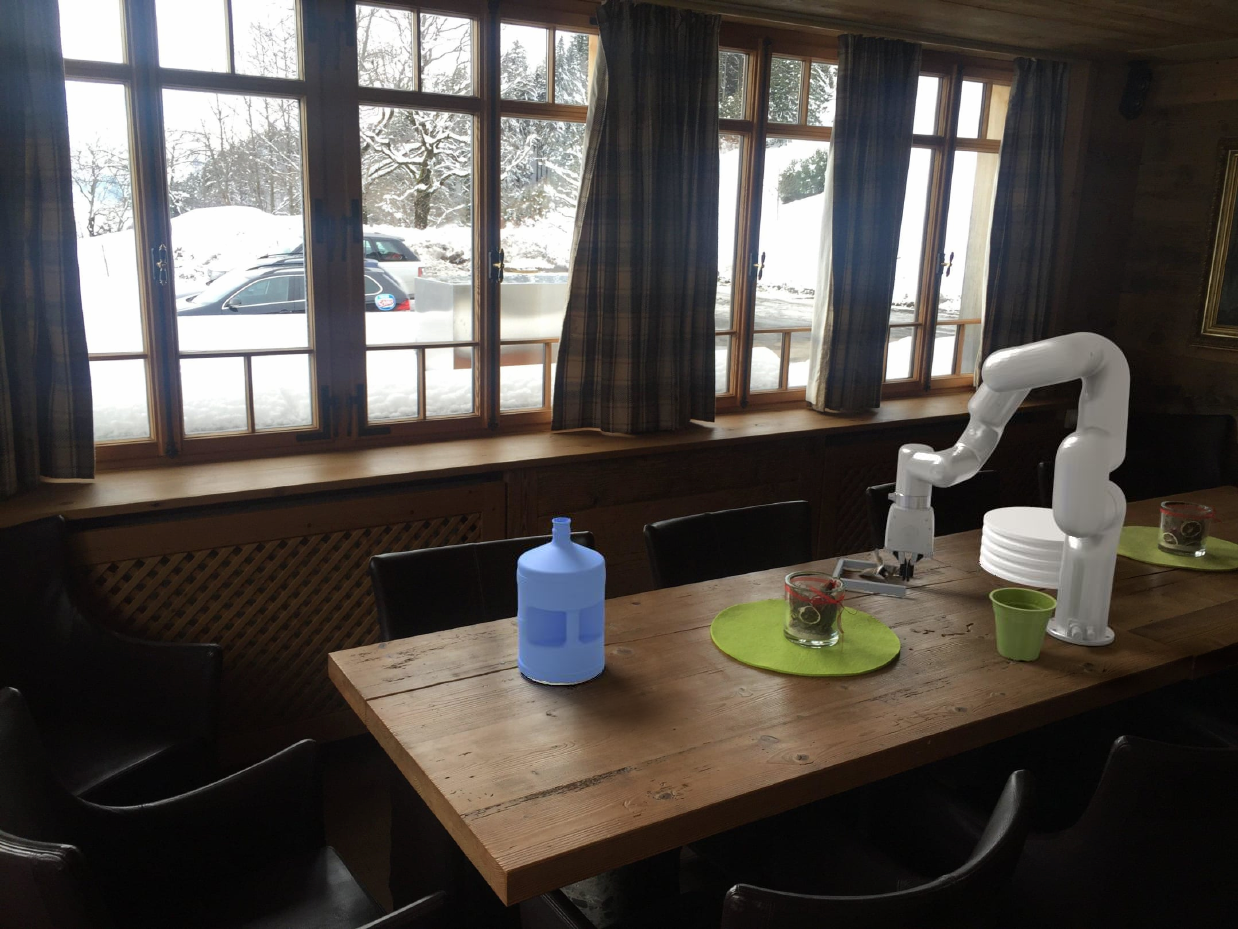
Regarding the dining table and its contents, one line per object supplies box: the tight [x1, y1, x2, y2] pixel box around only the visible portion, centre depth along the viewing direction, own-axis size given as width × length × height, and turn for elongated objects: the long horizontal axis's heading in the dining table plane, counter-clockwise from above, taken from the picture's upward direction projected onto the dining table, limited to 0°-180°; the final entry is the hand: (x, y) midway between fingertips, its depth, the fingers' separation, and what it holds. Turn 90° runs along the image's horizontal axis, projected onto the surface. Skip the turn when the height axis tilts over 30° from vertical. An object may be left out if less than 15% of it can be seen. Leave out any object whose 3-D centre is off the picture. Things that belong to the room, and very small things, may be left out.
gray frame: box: [831, 557, 907, 598], centre depth 227 cm, size 15×16×2 cm
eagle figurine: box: [859, 548, 900, 584], centre depth 229 cm, size 8×7×9 cm
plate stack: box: [979, 506, 1066, 590], centre depth 237 cm, size 28×28×12 cm
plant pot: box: [989, 587, 1058, 662], centre depth 188 cm, size 12×12×11 cm
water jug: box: [516, 517, 607, 683], centre depth 178 cm, size 16×16×28 cm
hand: (905, 579), depth 224 cm, fingers closed
